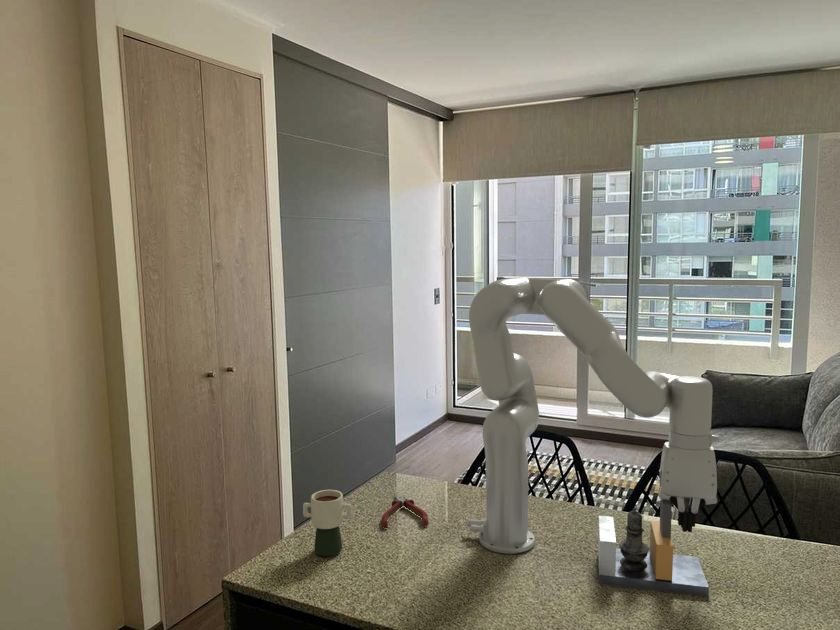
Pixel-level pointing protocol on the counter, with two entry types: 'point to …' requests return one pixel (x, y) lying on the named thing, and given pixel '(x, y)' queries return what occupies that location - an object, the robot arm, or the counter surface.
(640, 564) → the dark grey chess piece
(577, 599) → the counter surface
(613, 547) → the vise
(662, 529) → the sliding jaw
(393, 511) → the pliers
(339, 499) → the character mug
